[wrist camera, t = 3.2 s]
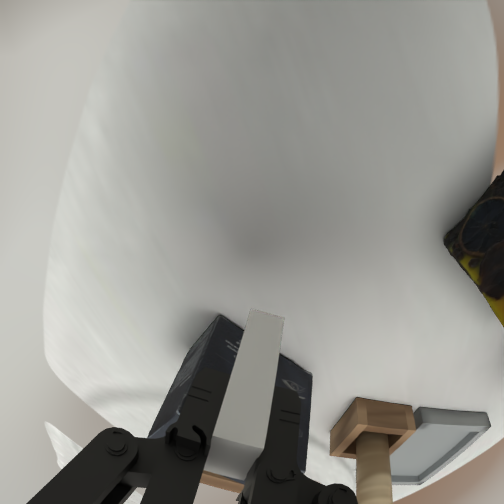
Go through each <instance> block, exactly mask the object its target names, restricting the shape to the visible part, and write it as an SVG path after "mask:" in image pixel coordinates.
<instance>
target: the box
mask: <svg viewBox="0 0 504 504" xmlns="http://www.w3.org/2000/svg"><path fill="white" fill-rule="evenodd" d="M243 334H244V331H242V330H241V329H240V328H238V327H237V326H235V325H233V324H232V323H231V322H230V321H228V320H227V319H226V318H224V317H222V316H218V317H217V318H216V319H215V321H214V322H213V323H212V324H211V325H210V326H209V328H208V329H207V330H206V331H205V332H204V333H203V335H202V336H201V337H200V338H199V339H198V341H197V342H196V343H195V344H194V345H193V347H192V348H191V349H190V350H189V352H188V353H187V355H186V357H185V359H184V361H183V363H182V365H181V368H180V370H179V372H178V374H177V375H176V378H175V379H174V382H173V384H172V386H171V388H170V390H169V392H168V394H167V396H166V398H165V400H164V403H163V405H162V406H161V409H160V411H159V413H158V415H157V417H156V419H155V421H154V424H153V426H152V428H151V430H150V432H149V435H148V437H147V438H149V439H157V438H161V437H164V436H165V433H166V430H167V429H168V427H169V426H170V425H171V424H173V423H175V422H177V420H178V418H179V415H180V413H181V411H182V408H183V406H184V403H185V401H186V398H187V396H188V394H189V391H190V389H191V387H192V384H193V382H194V379H195V377H196V375H197V374H198V373H199V372H200V371H202V370H203V369H204V368H205V367H207V368H210V369H214V370H217V371H220V372H223V373H227V374H230V375H231V374H232V370H233V367H234V364H235V360H236V357H237V354H238V350H239V347H240V344H241V340H242V337H243ZM274 386H278V387H282V388H286V389H290V390H295V391H297V393H298V395H299V398H300V400H301V413H300V423H299V436H298V447H297V464H298V467H299V469H300V470H301V472H302V473H305V471H306V459H307V449H308V439H309V422H310V410H311V395H312V374H311V373H310V372H307V371H306V370H302V369H301V368H299V367H298V366H296V365H295V364H294V363H293V362H291V361H289V360H287V359H286V358H285V357H283V356H281V355H279V359H278V366H277V373H276V379H275V385H274ZM221 476H223V475H221ZM223 477H226V478H228V479H231V480H233V481H236V482H238V483H241V484H243V485H245V480H246V478H245V480H239V479H235V478H231V477H227V476H223Z"/></svg>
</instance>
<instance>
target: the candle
mask: <svg viewBox="0 0 504 504" xmlns="http://www.w3.org/2000/svg"><path fill="white" fill-rule="evenodd" d="M444 245H445V247H446V248H447V249H448V251H449V253H450V255H451V256H453V257H454V258H455V259H456V261H457V262H458V263H459V265H460V267H461V268H462V269H463V270H464V271H465V272H466V274H467V275H468V276H469V277H470V278H471V279H472V280H473V281H474V283H475V284H476V285H477V287H478V289H479V291H480V292H481V293H482V294H483V295H484V297H485V298H486V300H487V302H488V303H489V305H490V307H491V308H492V310H493V312H494V313H495V315H496V316H497V318H498V319H499V321H500V322H501V324H502V325H503V327H504V171H503V172H502V174H501V175H500V176H497V177H496V178H495V180H494V181H493V182H492V184H491V185H490V187H489V188H488V189H487V191H486V192H485V193H484V195H483V196H482V197H481V198H480V199H479V201H478V202H477V203H476V204H475V206H473V207H472V208H470V209H469V211H468V213H467V215H466V216H465V218H464V219H462V220H461V221H460V222H459V223H458V224H457V225H456V226H455V228H454V229H453V230H451V231H450V232H448V233H447V235H446V237H445V239H444Z"/></svg>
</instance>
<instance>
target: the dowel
mask: <svg viewBox="0 0 504 504" xmlns="http://www.w3.org/2000/svg"><path fill="white" fill-rule="evenodd" d="M356 466H357V486H356V498H357V501H358V504H393V500H392V482H391V467H390V455H389V445H388V435H387V434H385V433H377V432H369V431H362V432H361V433H360V434H359V435H358V437H357V438H356Z"/></svg>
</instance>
